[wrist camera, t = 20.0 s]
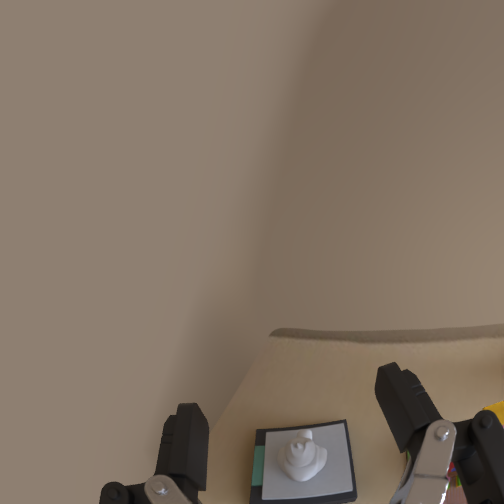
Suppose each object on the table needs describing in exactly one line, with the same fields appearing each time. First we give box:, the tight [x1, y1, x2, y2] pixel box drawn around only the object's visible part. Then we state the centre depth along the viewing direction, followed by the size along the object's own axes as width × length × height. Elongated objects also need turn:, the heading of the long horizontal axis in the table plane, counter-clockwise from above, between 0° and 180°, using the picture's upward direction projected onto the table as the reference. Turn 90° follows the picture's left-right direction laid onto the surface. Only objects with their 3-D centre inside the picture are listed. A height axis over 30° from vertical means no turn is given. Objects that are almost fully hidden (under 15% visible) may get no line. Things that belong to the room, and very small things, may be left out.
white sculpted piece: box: [277, 429, 327, 482], centre depth 22 cm, size 5×7×8 cm
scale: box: [249, 419, 357, 504], centre depth 25 cm, size 12×12×3 cm
